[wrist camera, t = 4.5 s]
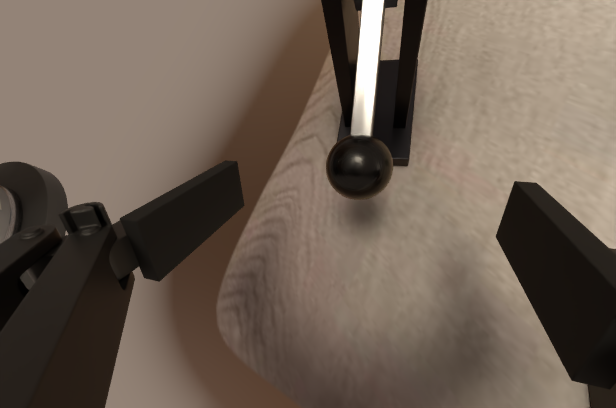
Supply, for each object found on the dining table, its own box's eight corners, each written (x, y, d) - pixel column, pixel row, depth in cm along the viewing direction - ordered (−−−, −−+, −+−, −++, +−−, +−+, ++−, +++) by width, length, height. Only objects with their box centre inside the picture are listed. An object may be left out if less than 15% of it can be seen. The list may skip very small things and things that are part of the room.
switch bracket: (407, 166, 22) (448, -7, 9) (336, 162, 24) (290, 10, 11) (416, 69, 25) (457, -167, 12) (351, 71, 27) (329, -134, 14)
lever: (389, 199, 16) (388, 207, 13) (331, 194, 17) (316, 199, 14) (416, -45, 14) (424, -113, 11) (349, -35, 15) (337, -94, 12)
